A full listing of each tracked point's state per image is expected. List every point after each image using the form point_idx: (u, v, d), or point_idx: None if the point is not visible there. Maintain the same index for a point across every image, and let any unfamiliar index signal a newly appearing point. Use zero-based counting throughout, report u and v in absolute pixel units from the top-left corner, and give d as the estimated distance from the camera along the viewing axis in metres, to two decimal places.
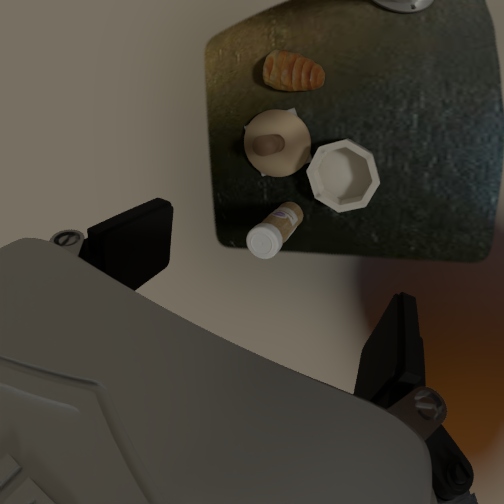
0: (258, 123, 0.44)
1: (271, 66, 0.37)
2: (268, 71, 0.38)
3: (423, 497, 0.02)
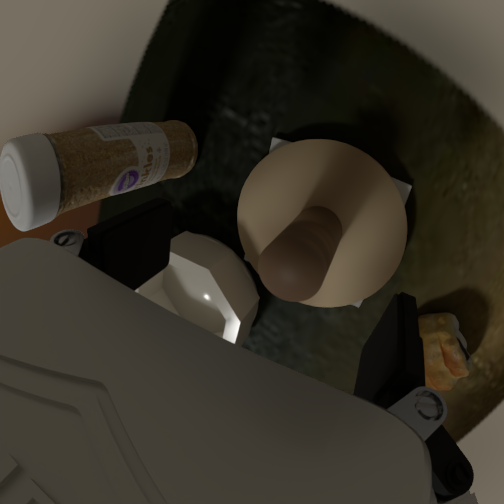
0: (388, 230, 0.16)
1: (449, 367, 0.15)
2: (448, 356, 0.15)
3: (423, 497, 0.02)
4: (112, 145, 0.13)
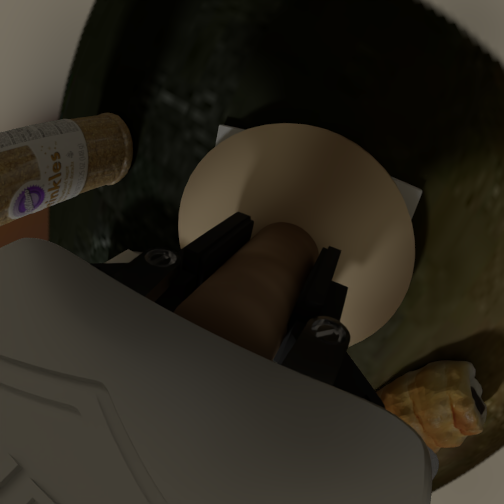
0: (386, 257, 0.11)
1: (460, 428, 0.10)
2: (460, 418, 0.10)
3: (423, 497, 0.02)
4: (3, 157, 0.08)
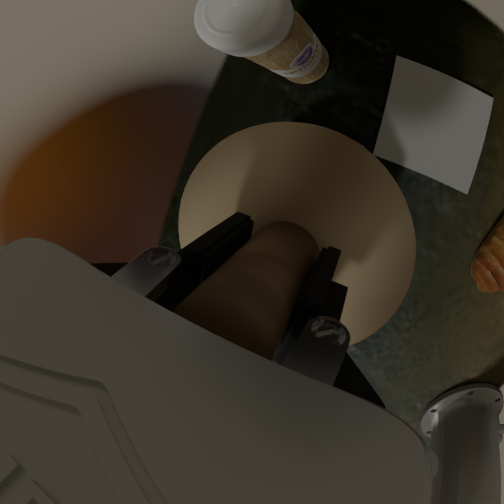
0: (387, 256, 0.11)
1: None
2: None
3: (423, 497, 0.02)
4: (303, 20, 0.13)
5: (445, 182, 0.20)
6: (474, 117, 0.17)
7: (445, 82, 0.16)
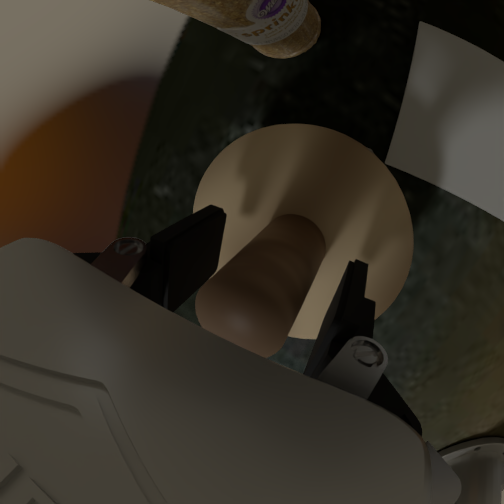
0: (387, 246, 0.12)
1: None
2: None
3: (423, 497, 0.02)
4: None
5: (485, 208, 0.13)
6: None
7: (488, 64, 0.09)
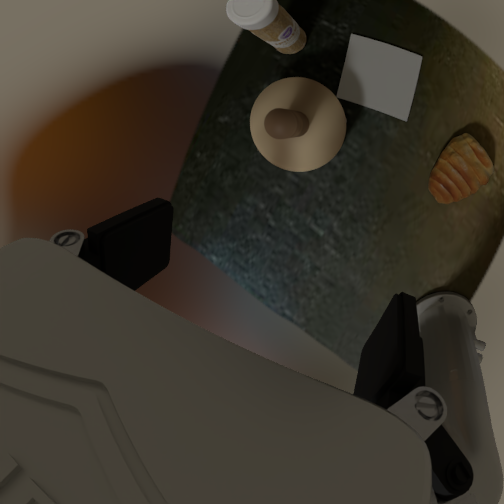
0: (334, 120, 0.28)
1: (480, 158, 0.24)
2: (476, 150, 0.24)
3: (423, 497, 0.02)
4: (286, 12, 0.22)
5: (389, 113, 0.29)
6: (408, 69, 0.26)
7: (385, 48, 0.26)
